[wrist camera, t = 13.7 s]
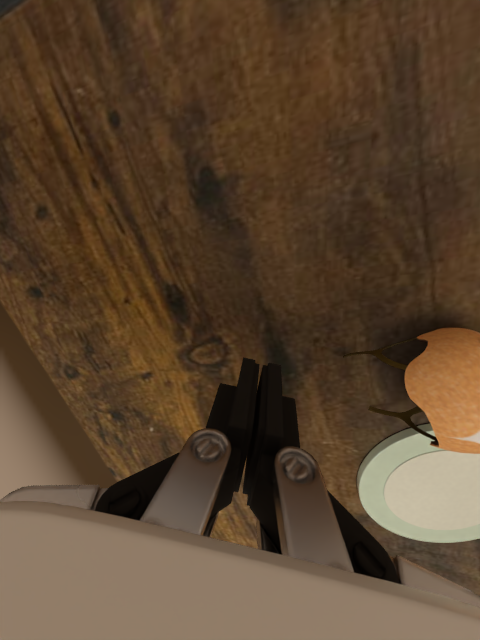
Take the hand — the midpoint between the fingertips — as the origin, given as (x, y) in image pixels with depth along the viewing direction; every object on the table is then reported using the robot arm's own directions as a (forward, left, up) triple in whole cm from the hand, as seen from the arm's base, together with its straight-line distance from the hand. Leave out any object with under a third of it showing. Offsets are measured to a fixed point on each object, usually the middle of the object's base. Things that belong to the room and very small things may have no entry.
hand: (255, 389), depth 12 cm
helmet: (+5, +8, -7) cm, 12 cm away
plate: (+16, +9, -6) cm, 19 cm away
